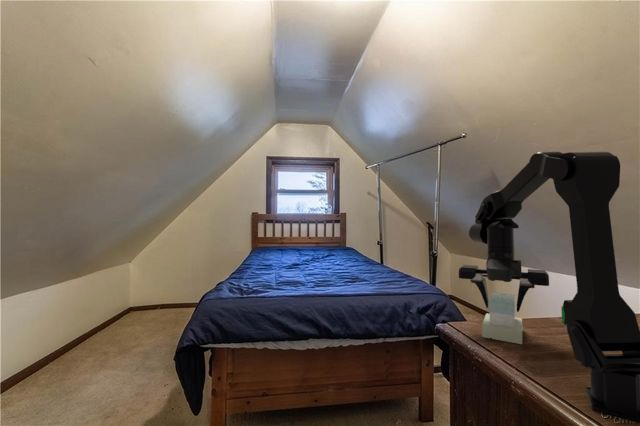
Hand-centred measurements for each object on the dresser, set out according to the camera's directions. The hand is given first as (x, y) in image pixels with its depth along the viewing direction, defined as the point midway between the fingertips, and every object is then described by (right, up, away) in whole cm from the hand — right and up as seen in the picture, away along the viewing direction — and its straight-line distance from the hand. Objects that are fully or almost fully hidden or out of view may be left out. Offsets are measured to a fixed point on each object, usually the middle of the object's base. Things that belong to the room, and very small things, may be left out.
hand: (502, 309), depth 75 cm
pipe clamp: (+22, -6, +2) cm, 22 cm away
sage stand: (0, -6, 0) cm, 6 cm away
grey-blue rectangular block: (0, -3, 0) cm, 3 cm away
